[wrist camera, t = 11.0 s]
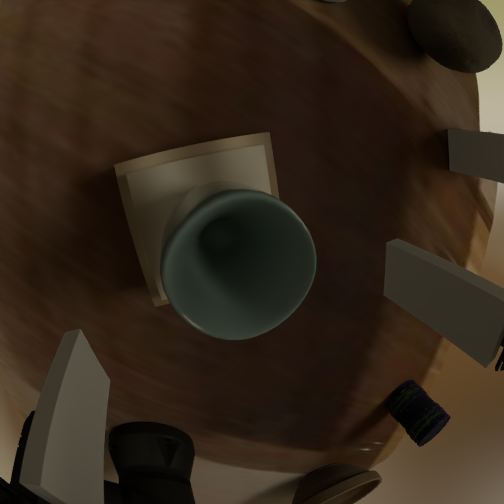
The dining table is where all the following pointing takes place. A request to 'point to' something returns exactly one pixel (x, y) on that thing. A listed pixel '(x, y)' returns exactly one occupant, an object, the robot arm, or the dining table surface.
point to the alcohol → (335, 0)
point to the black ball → (456, 33)
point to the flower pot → (336, 485)
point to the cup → (235, 260)
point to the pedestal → (185, 188)
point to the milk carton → (477, 154)
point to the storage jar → (416, 412)
